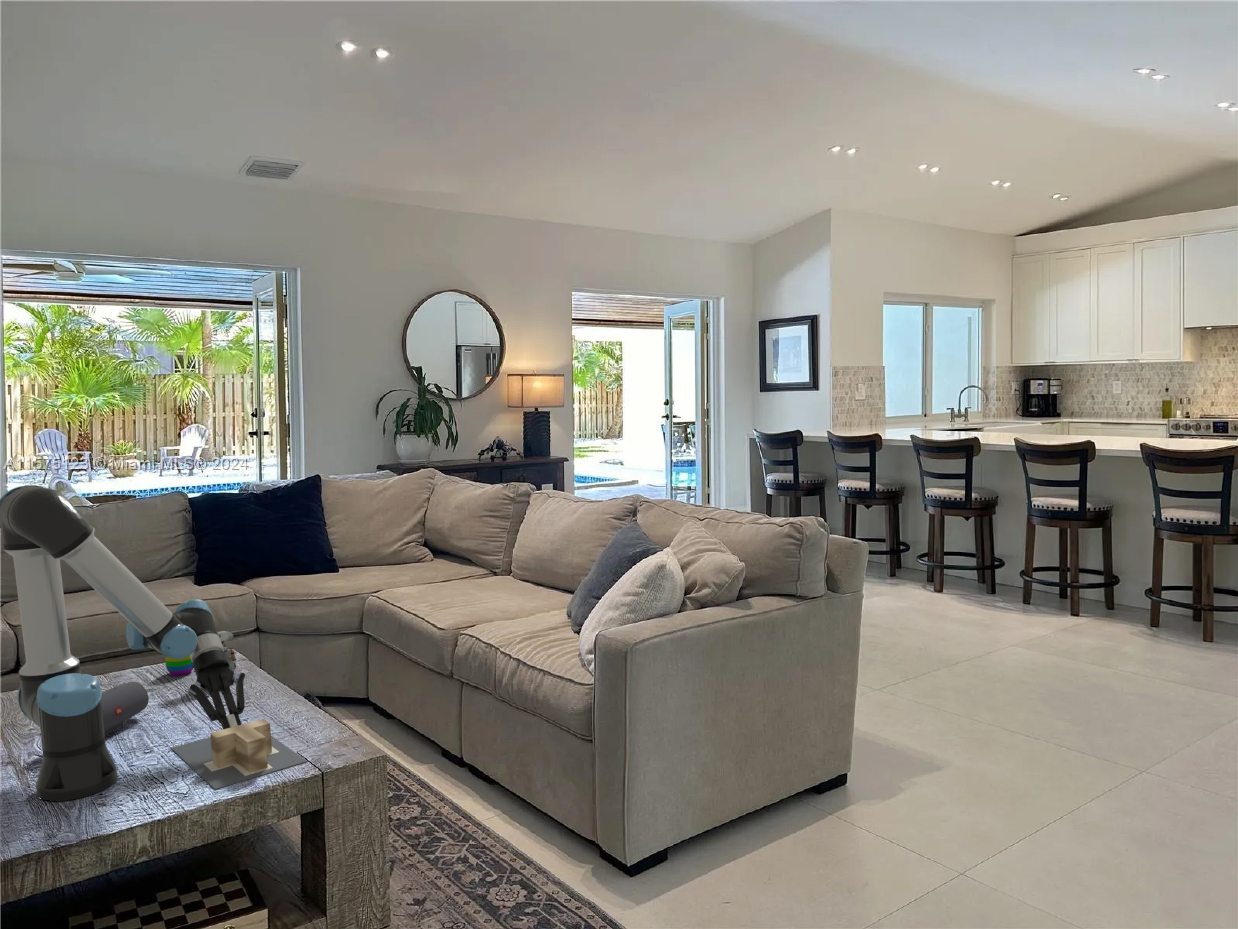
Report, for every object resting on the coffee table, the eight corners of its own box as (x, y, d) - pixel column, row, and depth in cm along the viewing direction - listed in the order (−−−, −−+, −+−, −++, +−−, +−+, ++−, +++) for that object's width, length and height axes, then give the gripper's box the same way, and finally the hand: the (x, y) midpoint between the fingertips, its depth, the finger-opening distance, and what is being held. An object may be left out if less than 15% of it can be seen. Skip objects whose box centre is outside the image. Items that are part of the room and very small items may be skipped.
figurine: (190, 684, 268) (186, 633, 267) (232, 675, 275) (228, 626, 274) (198, 692, 261) (194, 640, 260) (240, 682, 268) (236, 632, 267)
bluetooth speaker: (86, 751, 220) (82, 710, 219) (52, 750, 221) (49, 709, 221) (152, 717, 242) (149, 679, 241) (121, 715, 244) (118, 679, 243)
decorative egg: (160, 677, 277) (157, 644, 276) (177, 668, 285) (175, 636, 284) (185, 677, 275) (182, 644, 274) (201, 669, 283) (199, 637, 282)
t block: (230, 778, 200) (228, 747, 199) (212, 763, 209) (210, 733, 208) (285, 762, 208) (283, 732, 207) (265, 747, 217) (263, 718, 216)
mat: (215, 789, 195) (214, 788, 195) (171, 748, 219) (171, 747, 219) (307, 761, 208) (307, 761, 208) (256, 725, 232) (256, 725, 232)
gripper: (232, 659, 231) (262, 742, 220) (177, 671, 223) (205, 758, 212) (238, 642, 227) (269, 726, 216) (182, 654, 218) (211, 742, 207)
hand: (237, 741), depth 214 cm, fingers closed
